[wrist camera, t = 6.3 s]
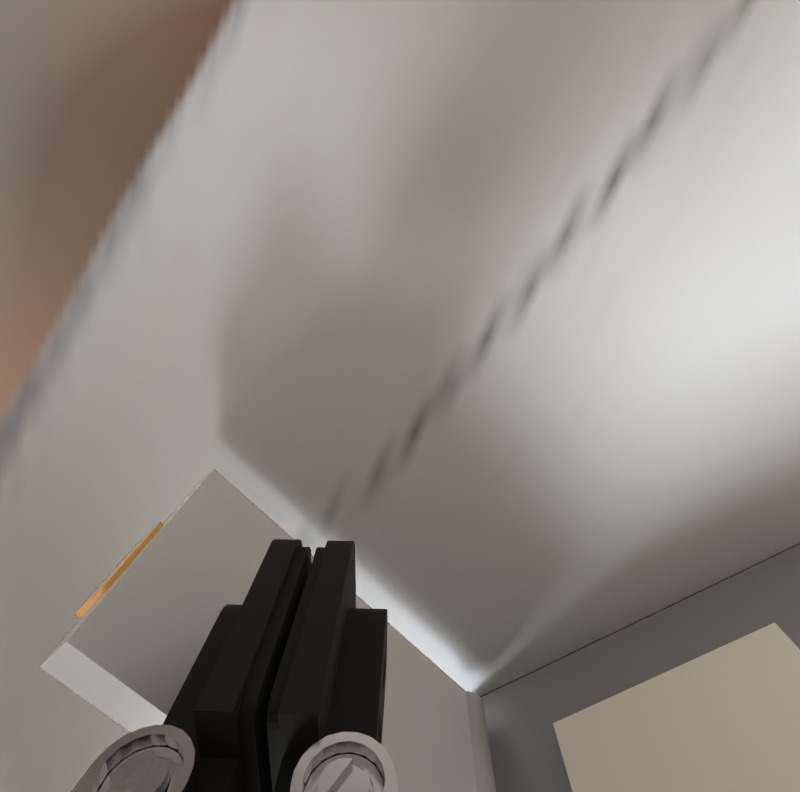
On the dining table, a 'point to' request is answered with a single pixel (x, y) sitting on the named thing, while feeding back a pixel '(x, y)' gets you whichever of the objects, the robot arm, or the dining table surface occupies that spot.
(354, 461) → the dining table surface
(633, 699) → the grey device box
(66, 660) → the side door
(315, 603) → the robot arm
